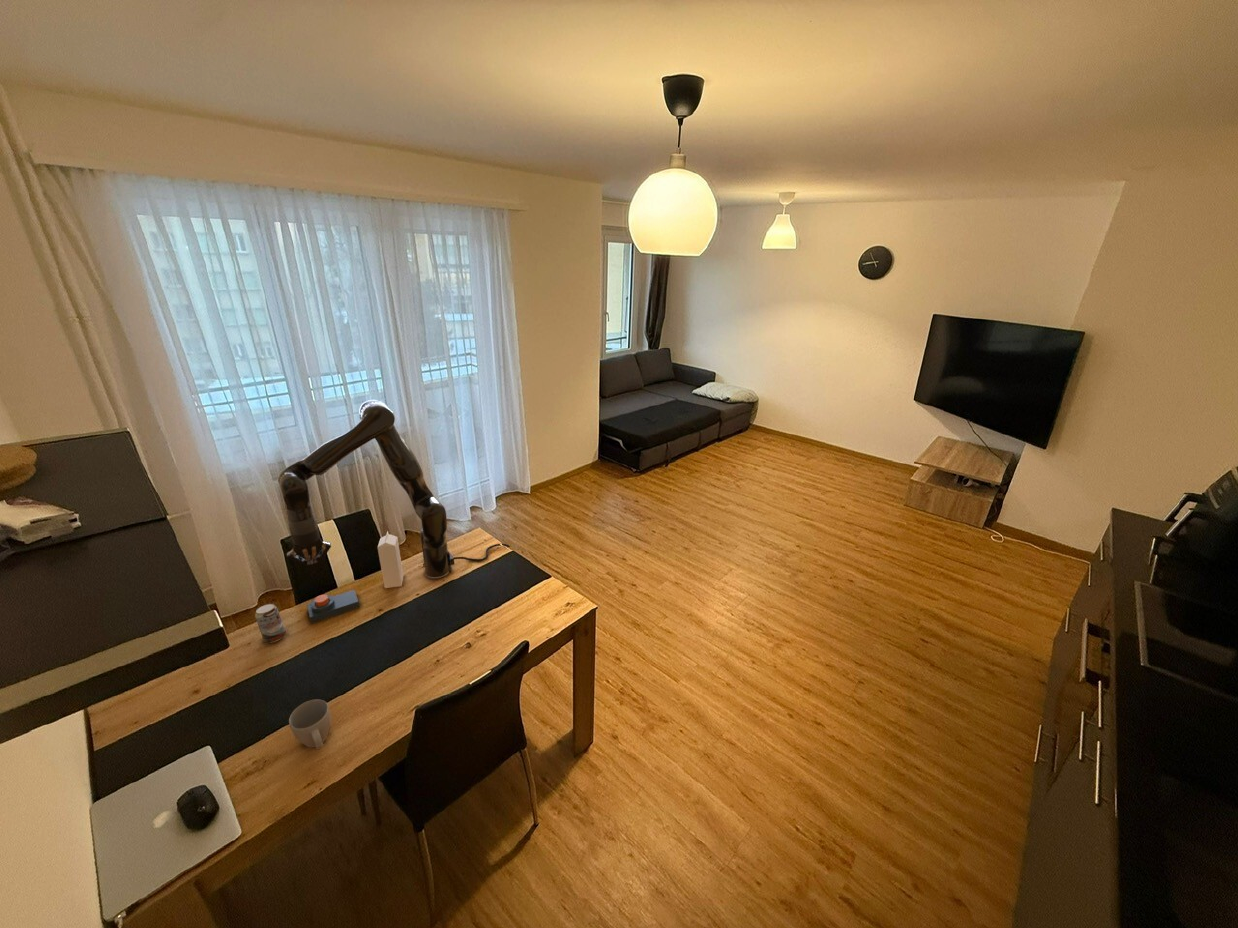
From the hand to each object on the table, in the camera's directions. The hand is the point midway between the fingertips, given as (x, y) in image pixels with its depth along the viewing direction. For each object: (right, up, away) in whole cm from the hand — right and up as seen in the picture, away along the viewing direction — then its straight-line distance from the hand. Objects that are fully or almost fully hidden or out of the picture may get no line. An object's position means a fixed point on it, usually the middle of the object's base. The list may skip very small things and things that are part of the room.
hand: (314, 571), depth 162 cm
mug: (+23, -38, -35) cm, 56 cm away
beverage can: (-10, -21, -4) cm, 24 cm away
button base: (+1, -15, +9) cm, 18 cm away
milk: (+16, -10, +24) cm, 30 cm away
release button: (-1, -12, +6) cm, 14 cm away
